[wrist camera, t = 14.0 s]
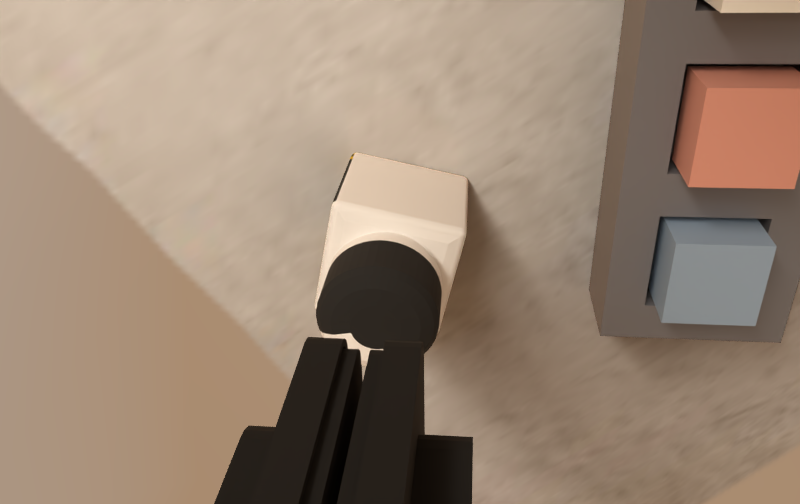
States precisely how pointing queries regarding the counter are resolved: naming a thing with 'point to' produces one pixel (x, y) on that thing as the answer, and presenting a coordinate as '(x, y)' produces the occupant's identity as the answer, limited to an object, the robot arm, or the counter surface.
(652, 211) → the key panel
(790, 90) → the terracotta key
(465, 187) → the medicine bottle
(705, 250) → the slate-blue key
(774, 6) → the off-white key
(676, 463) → the counter surface
